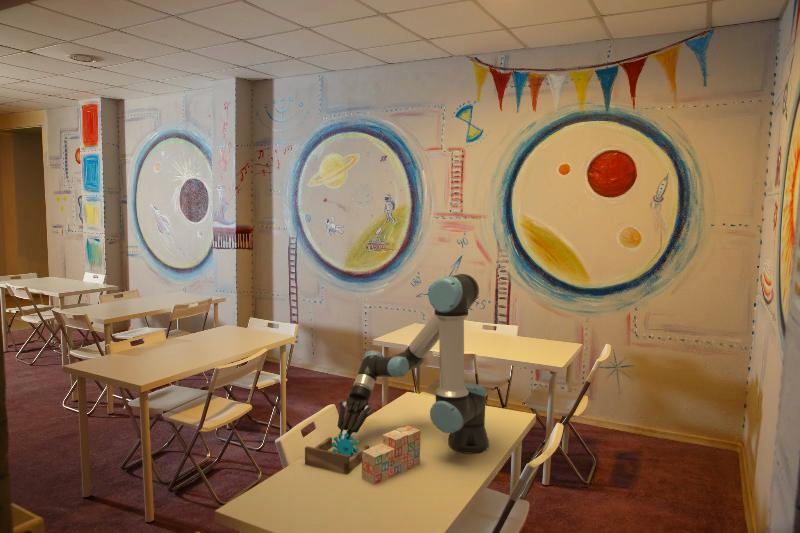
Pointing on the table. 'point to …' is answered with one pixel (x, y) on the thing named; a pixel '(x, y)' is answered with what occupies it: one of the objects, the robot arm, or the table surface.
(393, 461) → the stack of blocks
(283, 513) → the table surface
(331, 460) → the wooden u-shaped enclosure
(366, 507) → the table surface
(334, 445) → the gear
